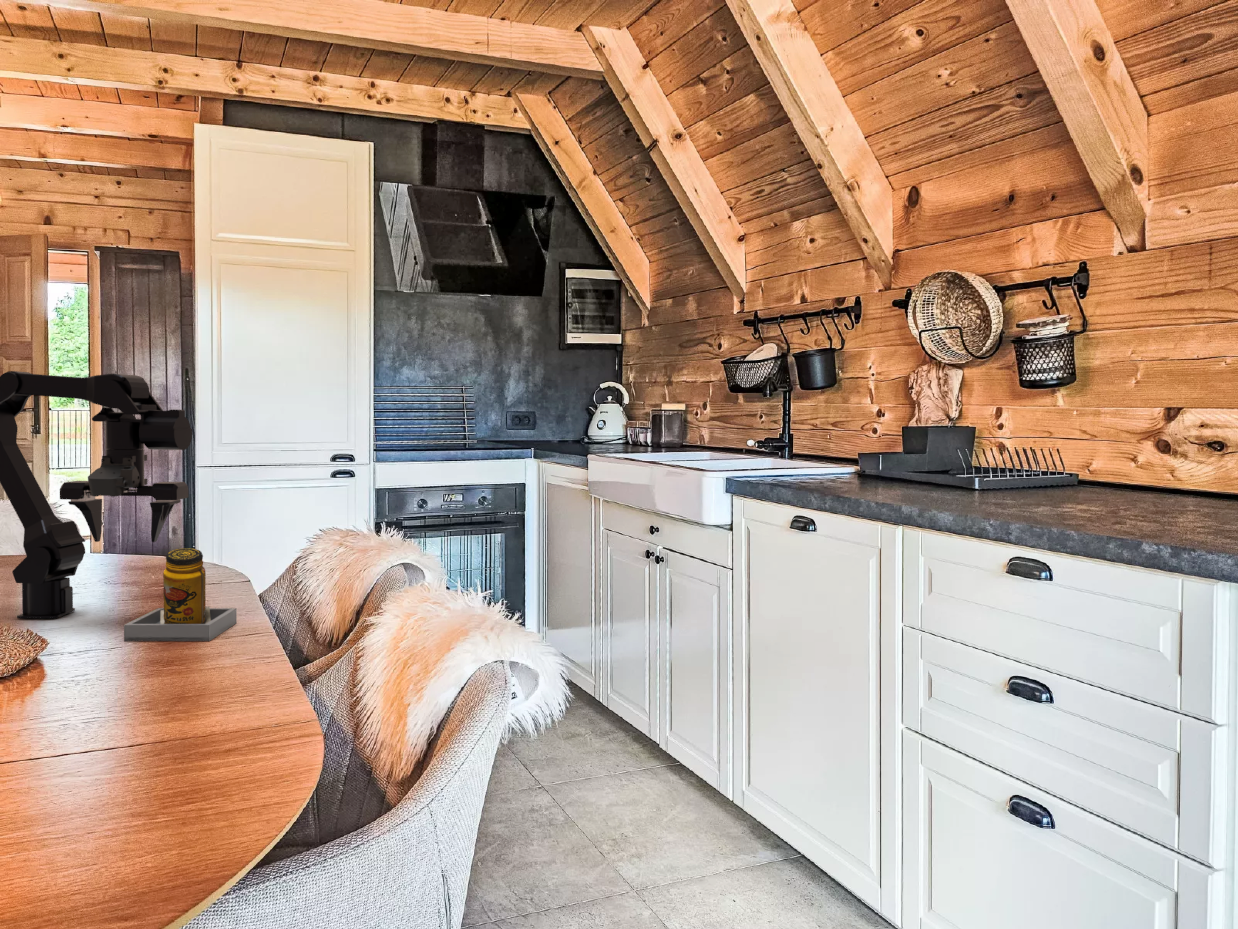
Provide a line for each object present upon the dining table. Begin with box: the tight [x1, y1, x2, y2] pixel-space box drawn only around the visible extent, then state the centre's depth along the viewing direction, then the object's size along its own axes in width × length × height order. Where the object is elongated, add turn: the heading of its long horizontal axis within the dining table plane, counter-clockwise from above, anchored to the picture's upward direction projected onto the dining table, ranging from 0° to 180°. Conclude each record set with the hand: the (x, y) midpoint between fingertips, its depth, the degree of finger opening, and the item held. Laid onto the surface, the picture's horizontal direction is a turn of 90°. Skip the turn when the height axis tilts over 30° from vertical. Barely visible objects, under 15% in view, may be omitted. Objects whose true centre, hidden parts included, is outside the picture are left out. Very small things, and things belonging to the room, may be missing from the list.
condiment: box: [160, 547, 211, 624], centre depth 148 cm, size 7×8×12 cm
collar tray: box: [123, 607, 238, 642], centre depth 149 cm, size 13×13×2 cm
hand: (125, 541), depth 157 cm, fingers open, 9 cm apart
